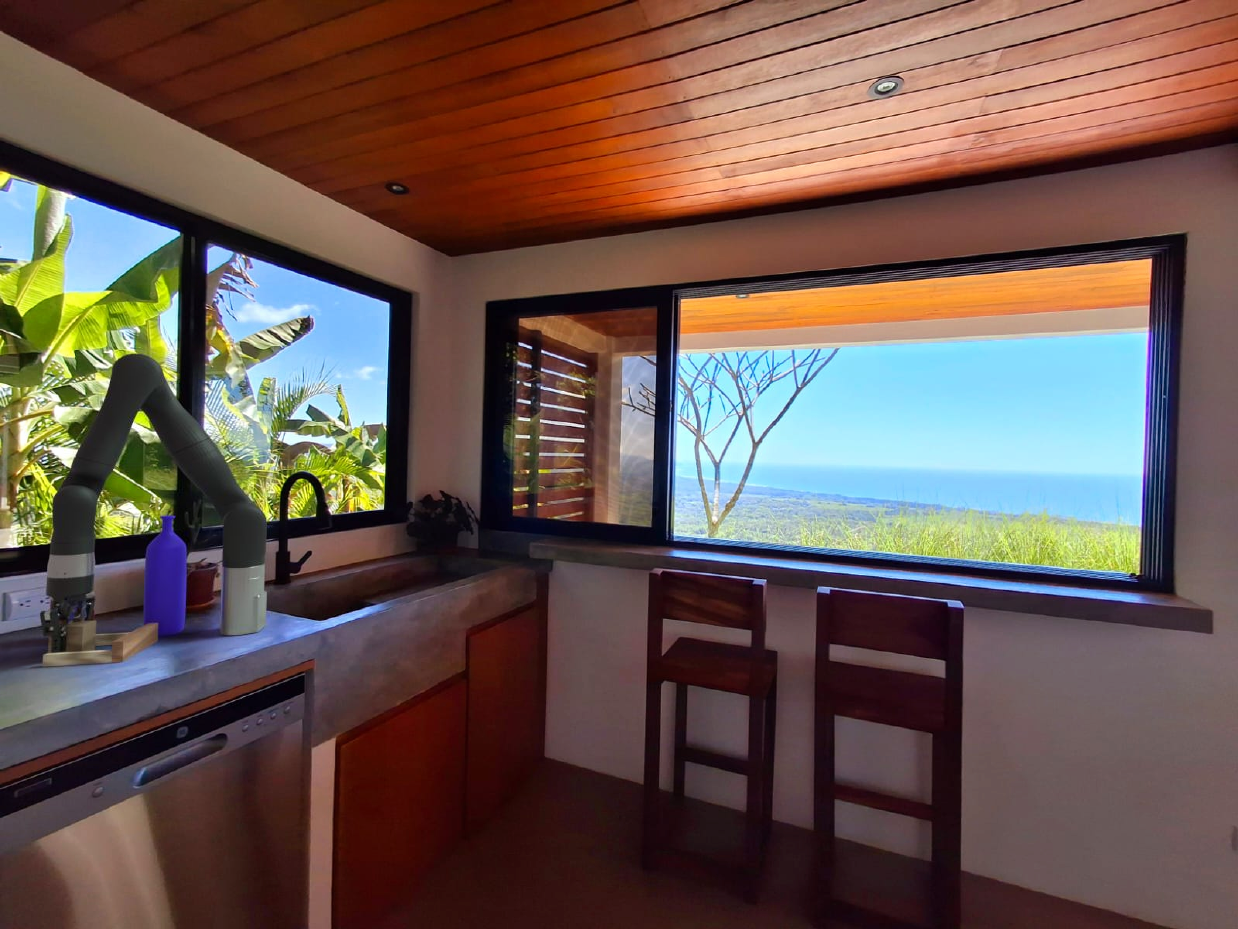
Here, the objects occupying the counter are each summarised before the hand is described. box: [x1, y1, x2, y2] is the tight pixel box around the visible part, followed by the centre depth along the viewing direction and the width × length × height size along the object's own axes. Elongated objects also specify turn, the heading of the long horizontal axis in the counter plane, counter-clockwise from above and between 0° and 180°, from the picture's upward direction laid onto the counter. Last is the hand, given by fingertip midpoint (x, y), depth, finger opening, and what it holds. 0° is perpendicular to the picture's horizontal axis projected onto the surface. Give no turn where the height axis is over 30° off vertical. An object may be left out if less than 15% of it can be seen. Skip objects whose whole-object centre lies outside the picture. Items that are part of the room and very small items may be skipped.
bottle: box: [143, 515, 188, 638], centre depth 138 cm, size 8×8×30 cm
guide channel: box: [42, 623, 159, 668], centre depth 123 cm, size 14×14×4 cm
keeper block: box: [47, 620, 97, 653], centre depth 121 cm, size 6×4×7 cm
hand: (66, 648), depth 121 cm, fingers closed on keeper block, 4 cm apart
